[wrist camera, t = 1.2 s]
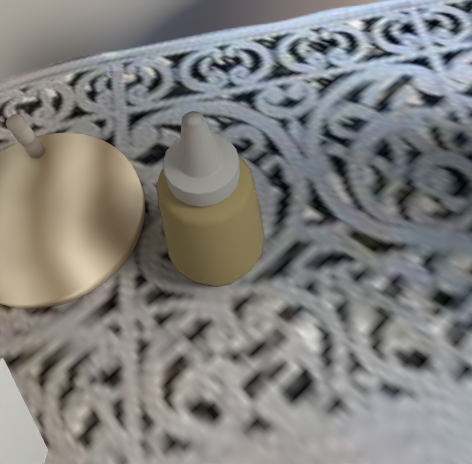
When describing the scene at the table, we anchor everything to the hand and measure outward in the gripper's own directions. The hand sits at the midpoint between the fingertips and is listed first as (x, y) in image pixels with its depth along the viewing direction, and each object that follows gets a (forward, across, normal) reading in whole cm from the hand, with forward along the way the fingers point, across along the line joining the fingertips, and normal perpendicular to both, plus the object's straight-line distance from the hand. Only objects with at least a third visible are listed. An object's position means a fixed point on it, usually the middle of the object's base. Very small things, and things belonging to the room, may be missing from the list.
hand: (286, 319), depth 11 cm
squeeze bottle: (+27, 0, -8) cm, 29 cm away
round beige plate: (+34, -14, -2) cm, 36 cm away
